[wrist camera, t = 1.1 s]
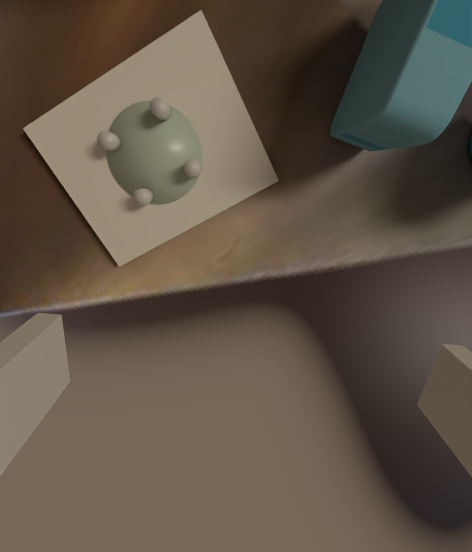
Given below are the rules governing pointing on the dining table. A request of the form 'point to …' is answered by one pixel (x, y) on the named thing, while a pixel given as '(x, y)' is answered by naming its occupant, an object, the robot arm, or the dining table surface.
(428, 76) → the data package
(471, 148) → the cup
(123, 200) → the pin tray
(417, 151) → the dining table surface
